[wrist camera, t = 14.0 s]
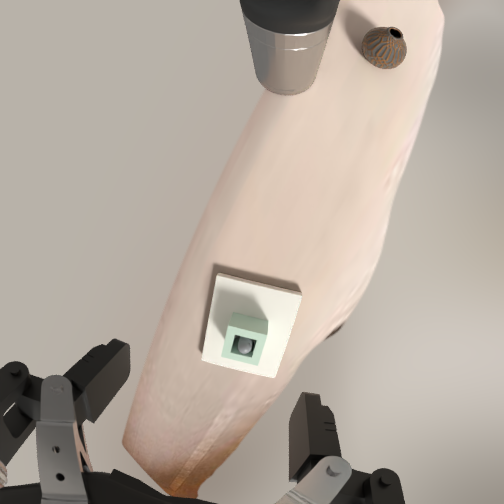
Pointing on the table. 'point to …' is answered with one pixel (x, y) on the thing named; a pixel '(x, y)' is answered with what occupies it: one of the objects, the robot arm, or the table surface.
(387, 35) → the vase
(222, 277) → the plate
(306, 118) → the table surface
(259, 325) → the collar
